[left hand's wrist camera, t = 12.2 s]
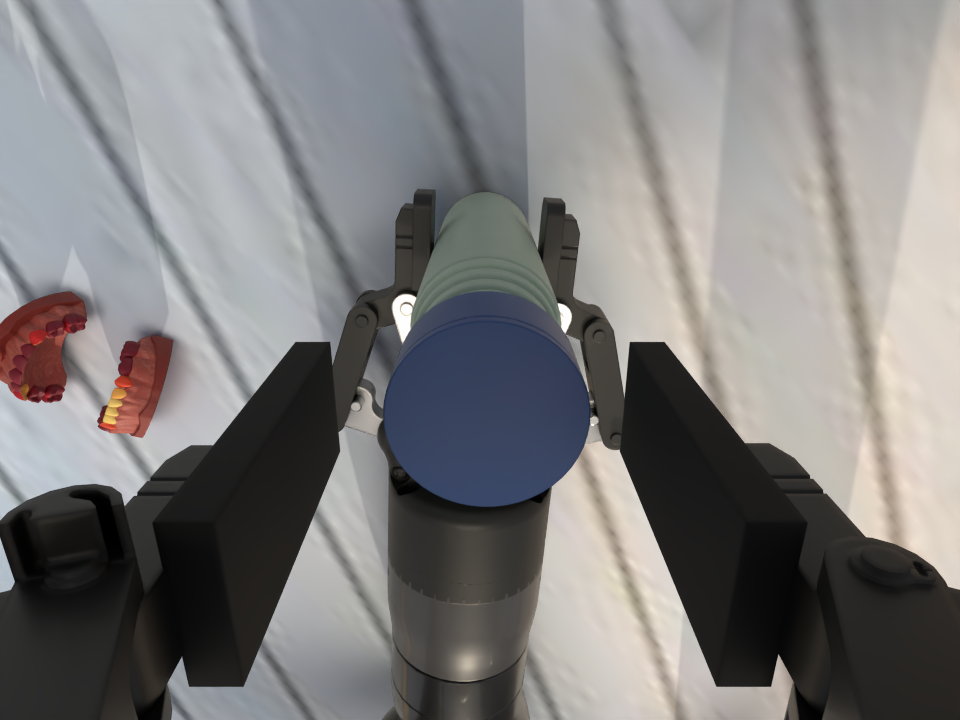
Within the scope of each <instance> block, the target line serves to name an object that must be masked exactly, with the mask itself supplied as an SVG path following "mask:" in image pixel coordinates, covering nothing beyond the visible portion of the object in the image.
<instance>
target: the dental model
mask: <svg viewBox="0 0 960 720" xmlns="http://www.w3.org/2000/svg"><path fill="white" fill-rule="evenodd" d="M86 322H87V314H86V309H85V305H84V302H83V300H81V299H80V298H79V297H77V296H76V295H75V294H73V293H72V292H62V293H56V294H51V295H48V296H45V297H42V298H39V299H36V300H34V301H32V302H30V303H28V304H26V305H24V306H22V307H20V308H19V309H18V310H16V311H15V312H13V313H12V314H10V315H9V316H8V317H7V318H5V319H4V321H3V322H2V323H1V324H0V380H1V381H3V382H4V383H6V384H8V387H9V389H10V391H11V392H12V393H13V394H14V395H15V396H16V397H17V398H19V399H21V400H24V401H26V400H27V399H28V400H29V401H31V402H36V403H39V402H40V401H41V399H42V400H43V401H44V402H49V403H52V402H53V401H60V400H61V399H62V397H63V395H62V393H63V392H64V391H65V389H64V387H65V385H66V379H67V376H66V373H65V371H64V368H63V364H62V358H61V350H62V344H63V341H64V338H65V336H66V334H67V333H70V334H73V333H76V332H77V331H80V330H83V329H85V323H86ZM172 345H173V340H171V339H167V338H163V337H160V336H156V335H152V336H151V337H144V338H142V339H140V340H139V341H138V342H137V343H136V342H134V341H126V342H125V345H124V348H123V350H122V352H121V356H120V360H121V362H122V363H120V364H119V366H118V371H119V374H120V375H121V376H120V377H118V378H117V379H116V380H115V384H116V386H118V387H120V388H115V389H114V390H113V393H112V396H111V399H110V401H109V403H108V405H106V406H103V407H102V410H101V413H100V417H99V418H98V420H97V422H98V423H99V425H98V427H99V428H100V429H102V430H104V431H109V433H129V434H130V435H131V436H135V437H140V438H142V437H143V436H144V435H145V433H146V431H147V429H148V427H149V425H150V422H151V420H152V417H153V414H154V412H155V409H156V406H157V403H158V400H159V397H160V394H161V391H162V388H163V384H164V381H165V377H166V373H167V369H168V365H169V361H170V357H171V351H172ZM122 388H124V389H122Z"/></svg>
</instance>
